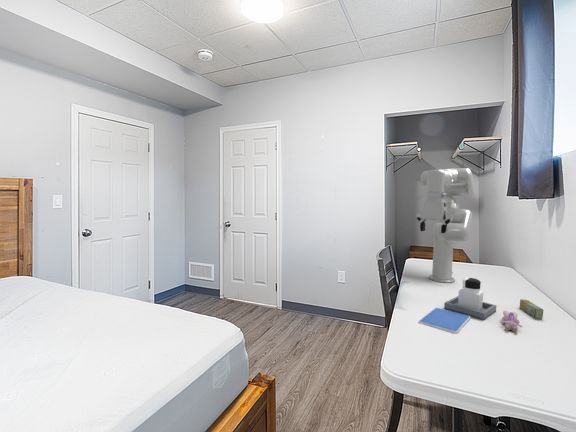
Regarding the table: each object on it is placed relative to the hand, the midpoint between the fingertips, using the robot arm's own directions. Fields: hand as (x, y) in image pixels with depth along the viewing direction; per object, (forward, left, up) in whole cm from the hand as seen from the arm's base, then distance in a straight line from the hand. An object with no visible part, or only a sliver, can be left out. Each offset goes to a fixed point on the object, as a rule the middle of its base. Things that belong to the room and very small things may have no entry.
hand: (432, 232), depth 143 cm
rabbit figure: (+18, +37, -29) cm, 50 cm away
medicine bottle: (+13, +22, -28) cm, 38 cm away
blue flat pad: (+32, +20, -29) cm, 47 cm away
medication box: (-3, +38, -29) cm, 48 cm away
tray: (+13, +22, -28) cm, 38 cm away
